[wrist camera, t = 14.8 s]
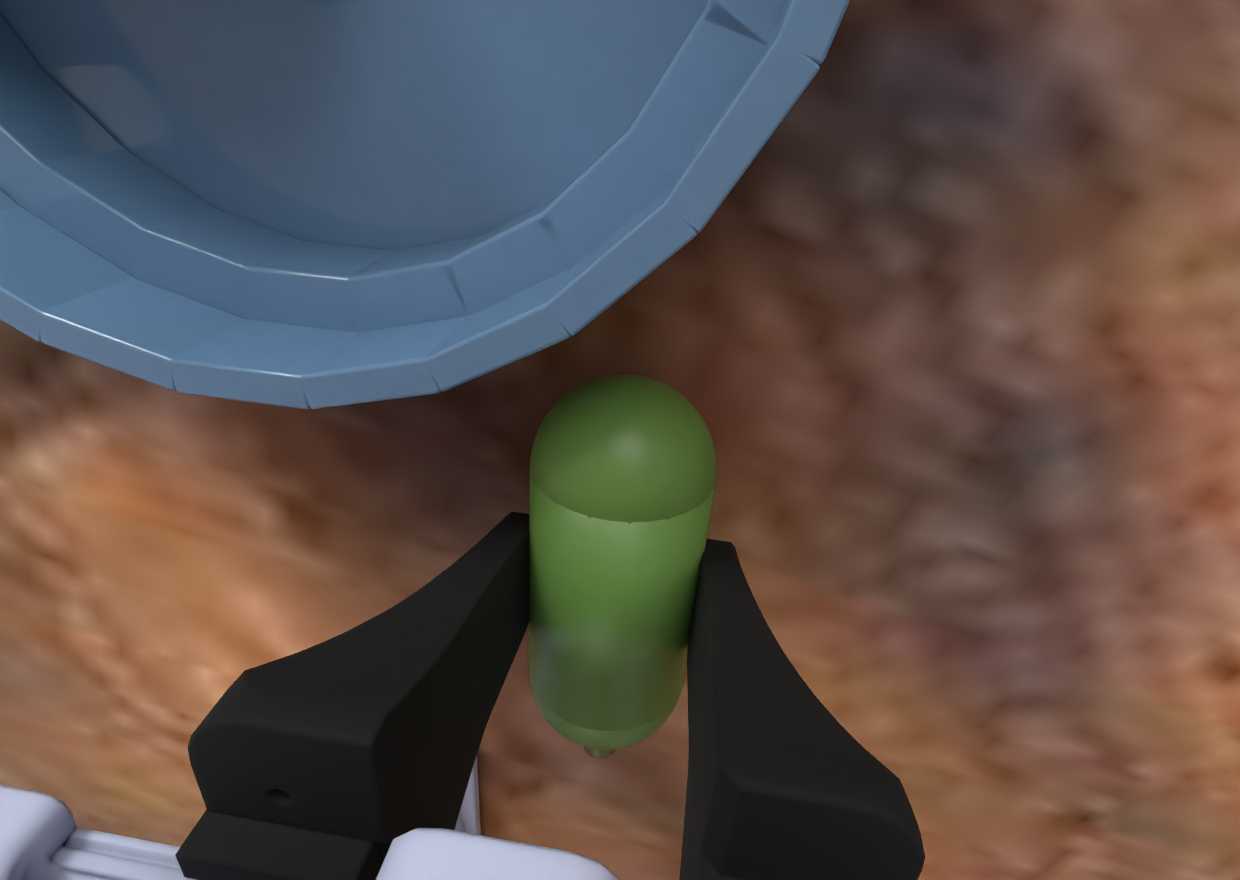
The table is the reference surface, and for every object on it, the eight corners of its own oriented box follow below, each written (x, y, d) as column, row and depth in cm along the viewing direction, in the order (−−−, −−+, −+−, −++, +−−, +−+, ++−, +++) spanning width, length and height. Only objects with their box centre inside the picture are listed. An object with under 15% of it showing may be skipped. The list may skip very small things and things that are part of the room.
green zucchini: (676, 698, 19) (665, 825, 16) (546, 677, 19) (510, 797, 16) (730, 357, 14) (729, 443, 11) (554, 336, 14) (505, 414, 11)
